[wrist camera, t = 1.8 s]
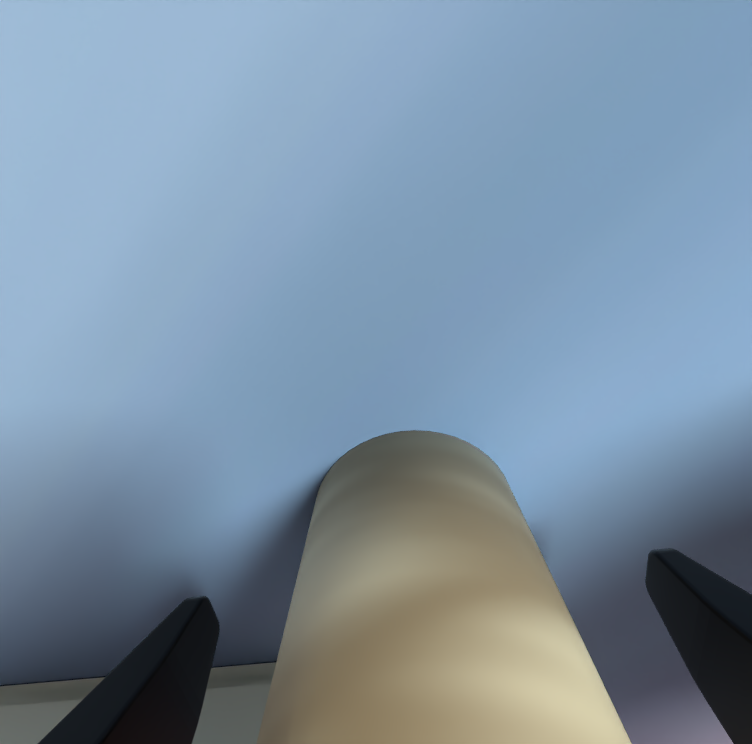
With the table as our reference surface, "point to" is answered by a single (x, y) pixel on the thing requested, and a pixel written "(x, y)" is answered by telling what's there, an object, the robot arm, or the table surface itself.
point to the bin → (56, 699)
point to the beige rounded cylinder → (429, 613)
